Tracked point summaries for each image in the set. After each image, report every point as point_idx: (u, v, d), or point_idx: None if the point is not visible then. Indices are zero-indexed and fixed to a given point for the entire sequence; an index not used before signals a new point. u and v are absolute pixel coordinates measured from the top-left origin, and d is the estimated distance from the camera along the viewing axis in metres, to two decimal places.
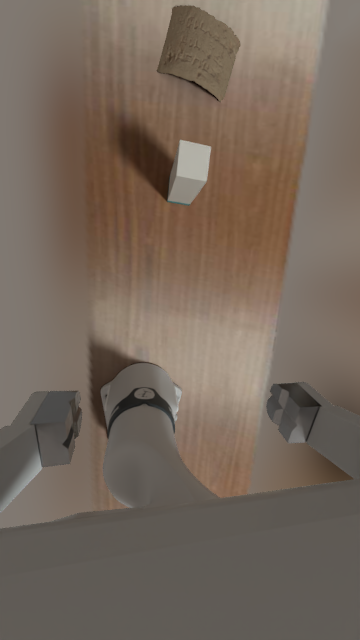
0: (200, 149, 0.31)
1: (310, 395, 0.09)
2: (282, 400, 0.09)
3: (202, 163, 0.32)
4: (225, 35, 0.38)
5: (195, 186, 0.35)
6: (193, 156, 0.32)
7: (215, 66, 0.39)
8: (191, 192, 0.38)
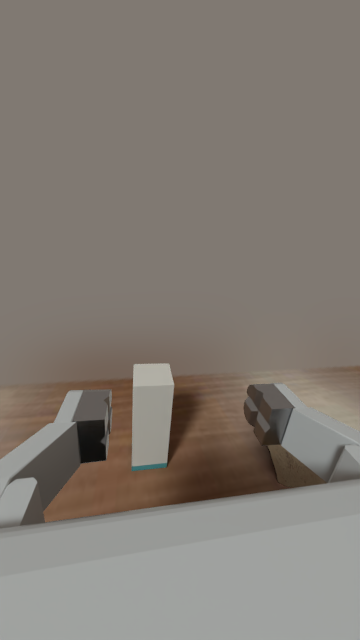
0: (167, 377, 0.26)
1: (285, 396, 0.09)
2: (257, 401, 0.09)
3: (153, 380, 0.25)
4: None
5: None
6: (157, 373, 0.27)
7: None
8: None
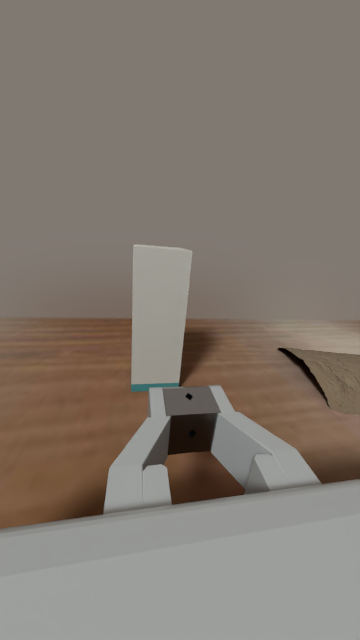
0: (181, 249, 0.18)
1: (215, 400, 0.08)
2: None
3: (162, 248, 0.18)
4: None
5: None
6: None
7: (353, 381, 0.23)
8: None
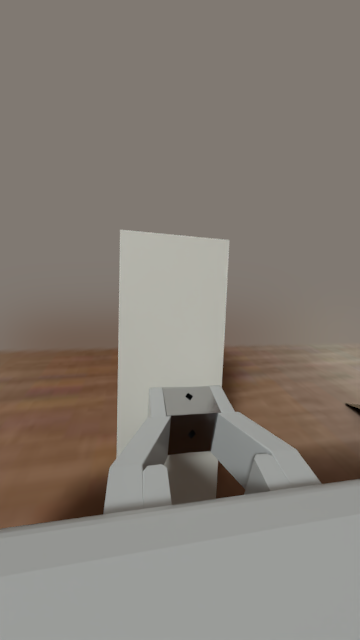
0: None
1: (215, 400, 0.08)
2: None
3: None
4: None
5: None
6: None
7: None
8: None
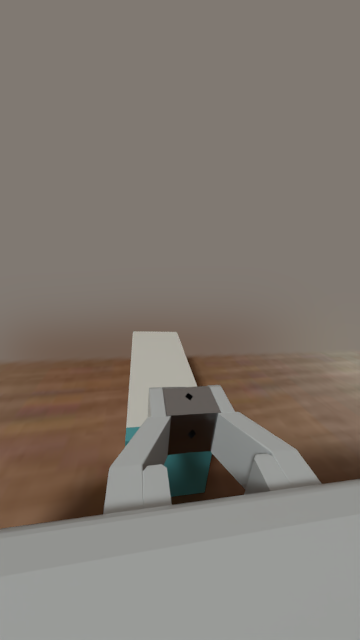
0: None
1: (215, 400, 0.08)
2: None
3: None
4: None
5: None
6: None
7: None
8: None
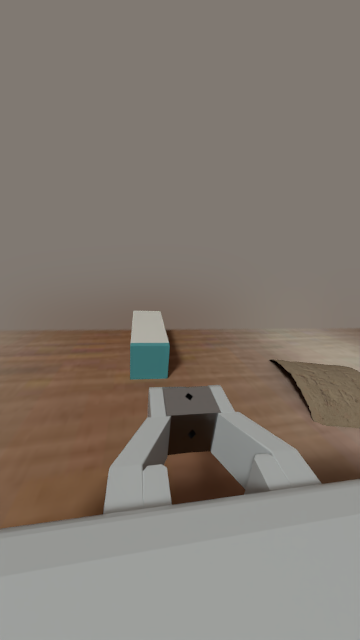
0: None
1: (215, 400, 0.08)
2: None
3: None
4: None
5: None
6: None
7: (336, 394, 0.25)
8: None
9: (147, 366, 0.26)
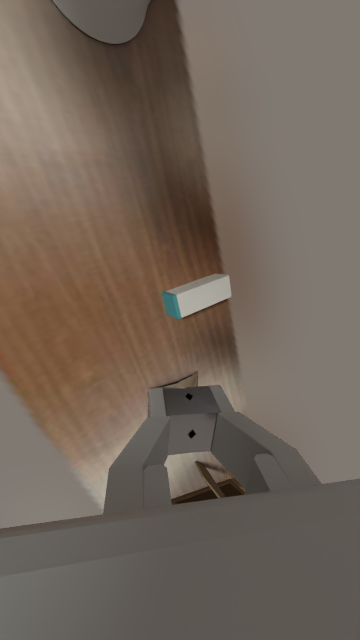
0: None
1: (215, 400, 0.08)
2: None
3: None
4: None
5: (215, 278, 0.44)
6: None
7: None
8: (203, 283, 0.43)
9: (168, 304, 0.42)
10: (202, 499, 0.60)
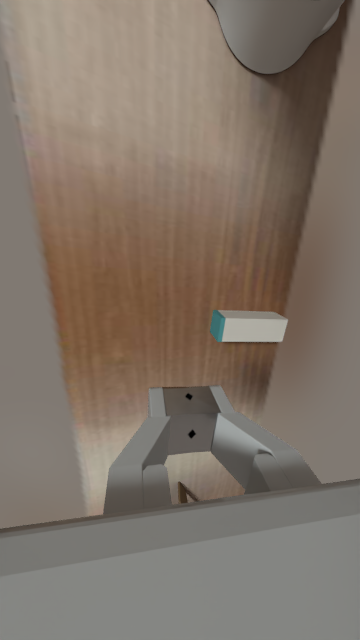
0: None
1: (215, 400, 0.08)
2: None
3: None
4: None
5: (272, 317, 0.41)
6: None
7: None
8: (257, 316, 0.41)
9: (214, 323, 0.41)
10: None
